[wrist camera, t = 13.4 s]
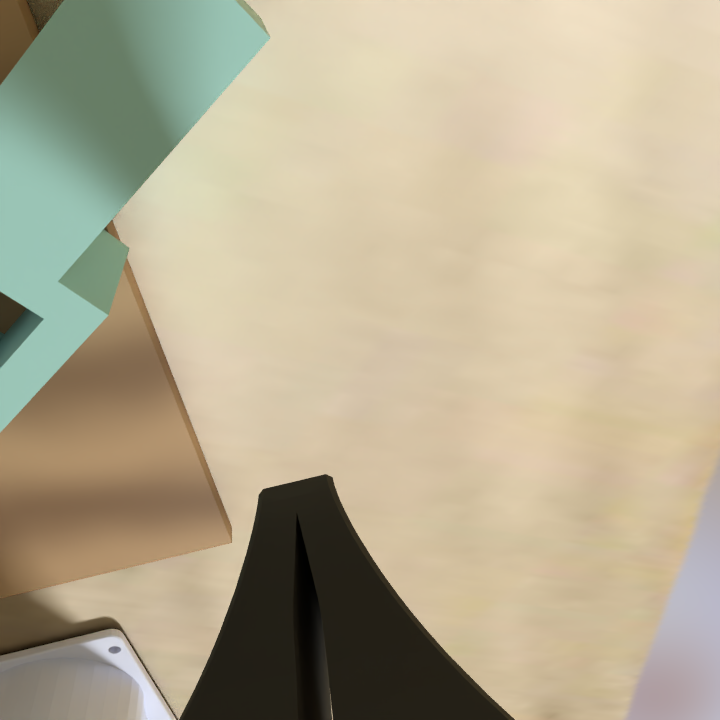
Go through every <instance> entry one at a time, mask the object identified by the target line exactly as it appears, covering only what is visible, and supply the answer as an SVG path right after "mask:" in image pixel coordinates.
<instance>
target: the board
mask: <svg viewBox="0 0 720 720" xmlns="http://www.w3.org/2000/svg"><path fill="white" fill-rule="evenodd" d="M38 34H39V31H38V28H37V26H36V23H35V21H34V18H33V16H32V13H31V10H30V8H29V5H28V3H27V0H0V85H1V84H2V82H3V81H4V80H5V78H6V77H7V76H8V74H9V73H10V72H11V70H12V69H13V68H14V66H15V65H16V64H17V62H18V61H19V60H20V58H21V57H22V56H23V54H24V53H25V52H26V50H27V49H28V48H29V46H30V45H31V44H32V42H33V41H34V40H35V38H36V37H37V36H38ZM104 230H105V231H107V232H108V233H109V234H111V235H112V236H113V237H115V238H116V239H118V240H119V241H120V239H119V237H118V234H117V231H116V229H115V226H114V224H113V221H112V220H111V221H110V222H109V223H108V225H107V226H106V227H105V228H104ZM26 309H27V308H26V307H24V306H23V305H21V304H19V303H18V302H16V301H15V300H13V299H11V298H10V297H8V296H7V295H5V294H3V293H2V292H0V332H2V333H3V334H5V333H6V332H7V331H8V330H9V328H10V327H11V326H12V325H13V324H14V323H15V322H16V320H17V319H18V318H19V317H20V316H21V315H22V313H23V312H24V311H25V310H26ZM229 543H232V527H231V524H230V522H229V519H228V517H227V514H226V512H225V509H224V506H223V504H222V501H221V499H220V496H219V494H218V491H217V488H216V486H215V483H214V481H213V478H212V476H211V473H210V470H209V468H208V465H207V463H206V460H205V458H204V455H203V452H202V450H201V447H200V445H199V442H198V440H197V437H196V434H195V432H194V429H193V427H192V424H191V422H190V419H189V416H188V414H187V411H186V409H185V406H184V404H183V401H182V398H181V396H180V393H179V391H178V388H177V386H176V383H175V380H174V378H173V375H172V373H171V370H170V368H169V365H168V362H167V360H166V357H165V355H164V352H163V350H162V347H161V344H160V342H159V339H158V337H157V334H156V332H155V329H154V326H153V324H152V321H151V319H150V316H149V314H148V311H147V308H146V306H145V303H144V301H143V298H142V296H141V293H140V291H139V288H138V285H137V283H136V280H135V278H134V275H133V273H132V270H131V267H130V265H129V262H128V260H127V258H126V261H125V264H124V267H123V271H122V274H121V277H120V280H119V283H118V286H117V290H116V293H115V296H114V299H113V302H112V306H111V309H110V312H109V315H108V316H107V317H106V318H105V320H104V321H103V322H102V323H101V324H100V325H99V326H98V327H97V328H96V329H95V330H94V332H93V333H92V334H91V335H90V336H89V337H88V338H87V339H86V340H85V341H84V342H83V343H82V345H81V346H80V347H79V348H78V349H77V350H76V351H75V352H74V353H73V354H72V355H71V356H70V358H69V359H68V360H67V361H66V362H65V363H64V364H63V365H62V366H61V367H60V368H59V369H58V371H57V372H56V373H55V374H54V375H53V376H52V377H51V378H50V379H49V380H48V381H47V382H46V384H45V385H44V386H43V387H42V388H41V389H40V390H39V391H38V392H37V393H36V394H35V396H34V397H33V398H32V399H31V400H30V401H29V402H28V403H27V404H26V405H25V406H24V407H23V409H22V410H21V411H20V412H19V413H18V414H17V415H16V416H15V417H14V418H13V419H12V420H11V422H10V423H9V424H8V425H7V426H6V427H5V428H4V429H3V430H2V431H1V432H0V599H1V598H5V597H9V596H13V595H17V594H22V593H26V592H30V591H34V590H38V589H42V588H46V587H51V586H55V585H59V584H63V583H67V582H71V581H75V580H79V579H84V578H88V577H92V576H96V575H100V574H104V573H108V572H113V571H117V570H121V569H125V568H129V567H133V566H137V565H142V564H146V563H150V562H154V561H158V560H162V559H166V558H171V557H175V556H179V555H183V554H187V553H191V552H195V551H200V550H204V549H208V548H212V547H216V546H220V545H224V544H229Z"/></svg>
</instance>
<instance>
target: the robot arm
mask: <svg viewBox="0 0 720 720" xmlns="http://www.w3.org/2000/svg"><path fill="white" fill-rule="evenodd" d="M330 694H331V699H330ZM331 704H332V713H333V720H515V719H514V718H512V717H511V716H510V715H509V714H508V713H507V712H506V711H505V710H504V709H503V708H502V707H501V706H499V705H498V704H497V703H496V702H495V701H494V700H493V699H492V698H491V697H490V696H489V695H488V694H487V693H486V692H485V691H484V690H483V689H482V688H481V687H480V686H479V685H478V684H477V683H476V682H475V681H474V680H473V679H472V678H471V677H470V676H469V675H468V674H467V673H466V672H465V671H464V670H463V669H462V668H461V667H460V666H459V665H458V664H457V663H456V662H455V661H454V660H453V659H452V658H451V657H450V656H449V655H448V654H447V653H446V652H445V650H444V649H443V648H442V647H441V646H440V645H439V644H438V643H437V641H436V640H435V639H434V638H433V637H432V636H431V635H430V634H429V632H428V631H427V630H426V629H425V628H424V627H423V625H422V624H421V623H420V622H419V621H418V619H417V618H416V617H415V616H414V615H413V613H412V612H411V611H410V610H409V608H408V607H407V606H406V605H405V603H404V602H403V601H402V599H401V598H400V597H399V595H398V594H397V593H396V591H395V590H394V589H393V587H392V586H391V585H390V583H389V582H388V580H387V579H386V578H385V576H384V575H383V574H382V572H381V571H380V569H379V568H378V566H377V565H376V563H375V562H374V560H373V559H372V557H371V555H370V554H369V552H368V551H367V549H366V547H365V546H364V544H363V543H362V541H361V539H360V538H359V536H358V535H357V533H356V531H355V529H354V528H353V526H352V524H351V522H350V520H349V518H348V516H347V514H346V512H345V510H344V508H343V506H342V504H341V502H340V499H339V497H338V494H337V491H336V489H335V486H334V482H333V478H332V477H330V476H328V475H326V474H325V475H321V476H317V477H312V478H308V479H304V480H300V481H295V482H291V483H287V484H283V485H279V486H274V487H270V488H266V489H263V490H262V492H261V493H260V494H259V498H258V506H257V511H256V516H255V521H254V526H253V530H252V534H251V538H250V542H249V546H248V550H247V553H246V557H245V560H244V563H243V567H242V570H241V573H240V576H239V580H238V583H237V586H236V589H235V592H234V595H233V598H232V600H231V603H230V606H229V609H228V611H227V614H226V617H225V619H224V622H223V625H222V627H221V630H220V633H219V635H218V638H217V640H216V643H215V645H214V647H213V650H212V652H211V655H210V657H209V659H208V661H207V664H206V666H205V668H204V670H203V672H202V675H201V677H200V679H199V681H198V683H197V685H196V688H195V690H194V692H193V694H192V696H191V698H190V700H189V702H188V704H187V705H186V707H185V709H184V711H183V713H182V715H181V717H180V719H179V720H332V714H331ZM0 720H176V719H175V717H174V715H173V714H172V712H171V710H170V709H169V707H168V706H167V704H166V702H165V701H164V699H163V697H162V696H161V694H160V693H159V691H158V689H157V688H156V686H155V684H154V683H153V681H152V680H151V678H150V676H149V675H148V673H147V671H146V670H145V668H144V667H143V665H142V663H141V662H140V660H139V659H138V657H137V655H136V654H135V652H134V650H133V649H132V647H131V646H130V644H129V642H128V641H127V639H126V637H125V636H124V634H123V633H122V632H121V631H120V630H117V629H107V630H103V631H99V632H95V633H91V634H86V635H82V636H78V637H74V638H70V639H66V640H62V641H58V642H54V643H50V644H46V645H42V646H38V647H34V648H30V649H26V650H22V651H18V652H14V653H10V654H6V655H1V656H0Z"/></svg>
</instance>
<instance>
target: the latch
mask: <svg viewBox="0 0 720 720" xmlns="http://www.w3.org/2000/svg"><path fill="white" fill-rule="evenodd" d="M269 39H270V36H269V34H268V32H267V30H266V28H265V26H264V24H263V22H262V20H261V18H260V17H259V16H258V15H257V14H256V13H255V11H254V10H253V9H252V8H251V7H250V6H249V5H248V4H247V3H246V2H245V1H244V0H64V1H63V2H62V3H61V5H60V6H59V7H58V9H57V10H56V11H55V13H54V14H53V15H52V17H51V18H50V20H49V21H48V22H47V24H46V25H45V26H44V28H43V29H42V30H41V32H40V33H39V34H38V36H37V37H36V38H35V40H34V41H33V42H32V44H31V45H30V46H29V48H28V49H27V50H26V52H25V53H24V54H23V56H22V57H21V58H20V60H19V61H18V62H17V64H16V65H15V66H14V68H13V69H12V70H11V72H10V73H9V74H8V76H7V77H6V78H5V80H4V81H3V82H2V84H1V85H0V292H2V293H3V294H5V295H7V296H8V297H10V298H11V299H13V300H15V301H16V302H18V303H19V304H21V305H23V306H24V307H26V308H27V309H26V310H25V311H24V312H23V313H22V315H21V316H20V317H19V318H18V319H17V320H16V322H15V323H14V324H13V325H12V326H11V327H10V328H9V330H8V331H7V332H6V333H5V334H3V333H2V332H0V432H1V431H2V430H3V429H4V428H5V427H6V426H7V425H8V424H9V423H10V422H11V420H12V419H13V418H14V417H15V416H16V415H17V414H18V413H19V412H20V411H21V410H22V409H23V407H24V406H25V405H26V404H27V403H28V402H29V401H30V400H31V399H32V398H33V397H34V396H35V394H36V393H37V392H38V391H39V390H40V389H41V388H42V387H43V386H44V385H45V384H46V382H47V381H48V380H49V379H50V378H51V377H52V376H53V375H54V374H55V373H56V372H57V371H58V369H59V368H60V367H61V366H62V365H63V364H64V363H65V362H66V361H67V360H68V359H69V358H70V356H71V355H72V354H73V353H74V352H75V351H76V350H77V349H78V348H79V347H80V346H81V345H82V343H83V342H84V341H85V340H86V339H87V338H88V337H89V336H90V335H91V334H92V333H93V332H94V330H95V329H96V328H97V327H98V326H99V325H100V324H101V323H102V322H103V321H104V320H105V318H106V317H107V316H108V315H109V312H110V309H111V306H112V302H113V299H114V296H115V293H116V290H117V286H118V283H119V280H120V277H121V274H122V271H123V267H124V264H125V261H126V258H127V255H128V251H129V248H128V247H127V246H126V245H124V244H123V243H122V242H120V241H119V240H118V239H116V238H115V237H113V236H112V235H111V234H109V233H108V232H107V231H105V230H104V228H105V227H106V226H107V225H108V223H109V222H110V221H111V220H112V219H113V218H114V217H115V215H116V214H117V213H118V212H119V211H120V210H121V209H122V207H123V206H124V205H125V204H126V203H127V202H128V201H129V199H130V198H131V197H132V196H133V195H134V194H135V192H136V191H137V190H138V189H139V188H140V187H141V186H142V184H143V183H144V182H145V181H146V180H147V179H148V178H149V176H150V175H151V174H152V173H153V172H154V171H155V170H156V168H157V167H158V166H159V165H160V164H161V163H162V162H163V160H164V159H165V158H166V157H167V156H168V155H169V153H170V152H171V151H172V150H173V149H174V148H175V147H176V145H177V144H178V143H179V142H180V141H181V140H182V139H183V137H184V136H185V135H186V134H187V133H188V132H189V131H190V129H191V128H192V127H193V126H194V125H195V124H196V123H197V121H198V120H199V119H200V118H201V117H202V116H203V114H204V113H205V112H206V111H207V110H208V109H209V108H210V106H211V105H212V104H213V103H214V102H215V101H216V100H217V98H218V97H219V96H220V95H221V94H222V93H223V92H224V90H225V89H226V88H227V87H228V86H229V85H230V84H231V82H232V81H233V80H234V79H235V78H236V77H237V75H238V74H239V73H240V72H241V71H242V70H243V69H244V67H245V66H246V65H247V64H248V63H249V62H250V61H251V59H252V58H253V57H254V56H255V55H256V54H257V53H258V51H259V50H260V49H261V48H262V47H263V46H264V45H265V43H266V42H267V41H268V40H269Z"/></svg>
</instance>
